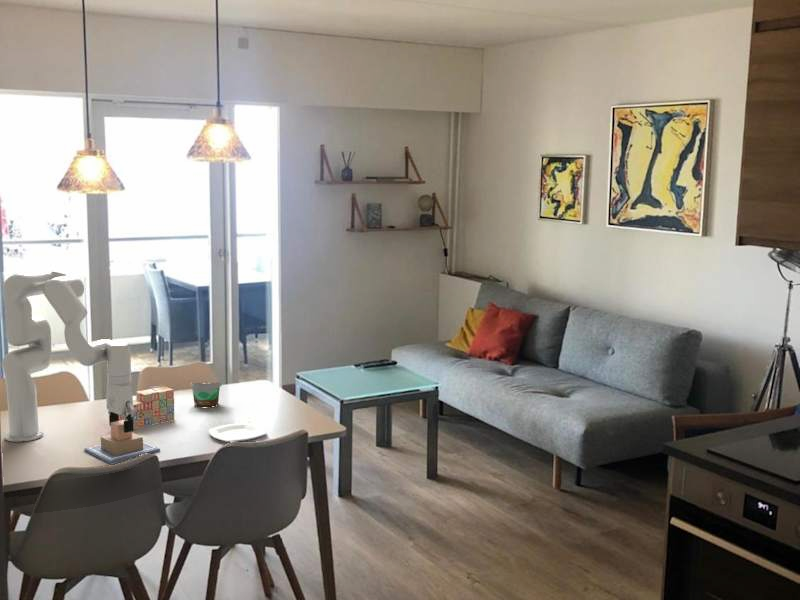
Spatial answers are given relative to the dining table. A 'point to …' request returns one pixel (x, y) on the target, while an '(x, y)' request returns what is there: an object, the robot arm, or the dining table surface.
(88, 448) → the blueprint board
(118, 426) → the terracotta cube
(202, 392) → the food container
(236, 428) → the plate
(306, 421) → the dining table surface
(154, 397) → the stack of blocks
